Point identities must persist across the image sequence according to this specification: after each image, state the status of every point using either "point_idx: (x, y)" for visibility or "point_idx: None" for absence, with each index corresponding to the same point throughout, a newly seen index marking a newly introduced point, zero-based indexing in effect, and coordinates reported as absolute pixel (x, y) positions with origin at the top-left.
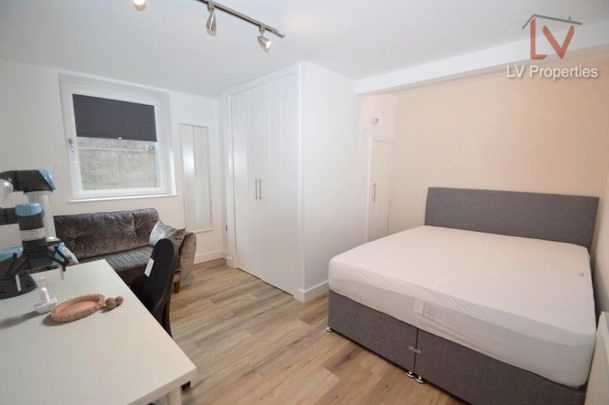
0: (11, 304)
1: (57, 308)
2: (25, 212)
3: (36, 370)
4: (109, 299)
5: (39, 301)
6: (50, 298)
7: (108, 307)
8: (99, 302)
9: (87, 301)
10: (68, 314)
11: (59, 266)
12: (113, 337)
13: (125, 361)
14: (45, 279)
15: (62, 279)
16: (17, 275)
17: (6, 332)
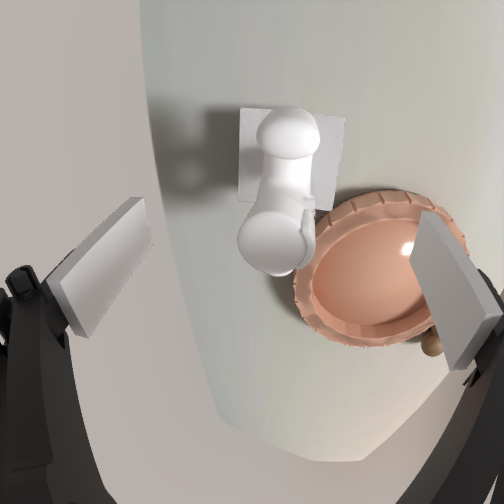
0: None
1: (321, 258)
2: None
3: (248, 410)
4: None
5: (263, 111)
6: (317, 116)
7: (421, 344)
8: (424, 326)
9: None
10: (332, 336)
11: (462, 345)
12: (353, 415)
13: (332, 443)
14: (308, 259)
15: (413, 261)
16: (76, 320)
17: (172, 243)
